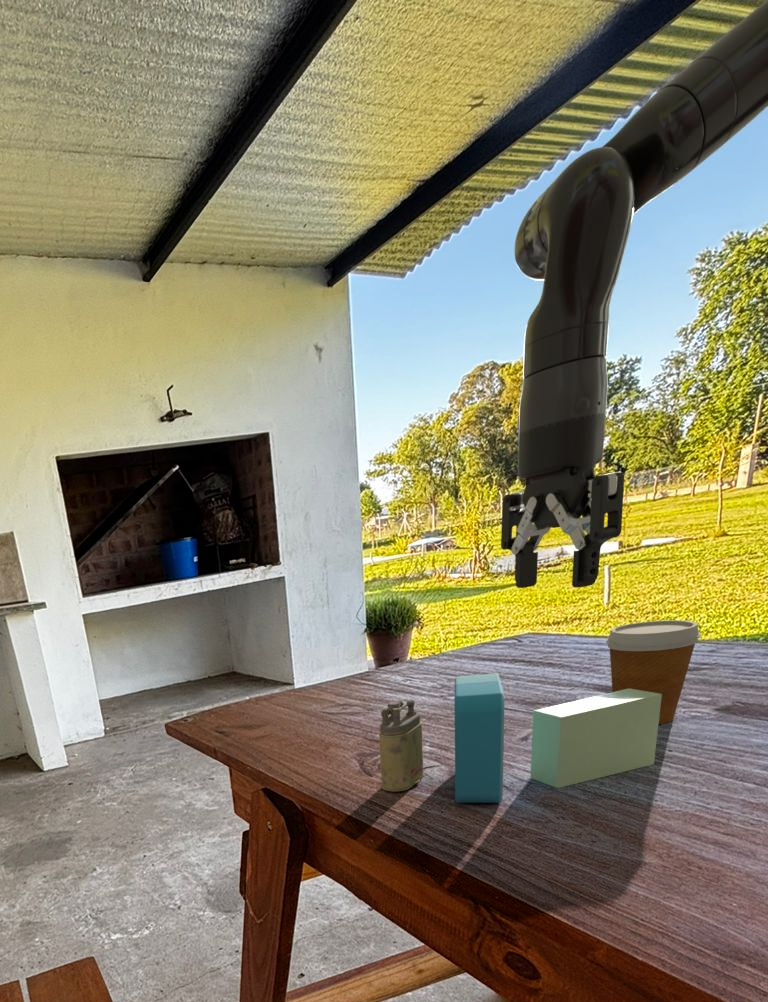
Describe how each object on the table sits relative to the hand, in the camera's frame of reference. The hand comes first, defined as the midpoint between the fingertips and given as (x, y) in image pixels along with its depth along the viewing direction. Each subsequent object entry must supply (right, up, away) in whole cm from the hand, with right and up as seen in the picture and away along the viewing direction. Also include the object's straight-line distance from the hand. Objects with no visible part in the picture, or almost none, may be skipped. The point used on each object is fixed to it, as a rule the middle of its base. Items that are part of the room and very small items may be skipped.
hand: (553, 586), depth 68 cm
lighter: (-14, -22, +7) cm, 27 cm away
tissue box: (+5, -21, +1) cm, 21 cm away
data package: (-7, -23, +2) cm, 24 cm away
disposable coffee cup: (+20, -13, +13) cm, 27 cm away
